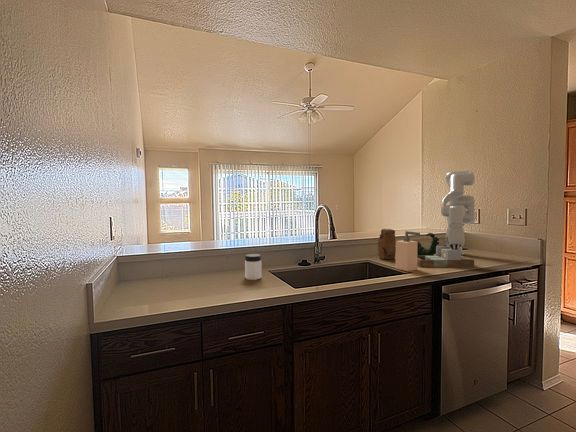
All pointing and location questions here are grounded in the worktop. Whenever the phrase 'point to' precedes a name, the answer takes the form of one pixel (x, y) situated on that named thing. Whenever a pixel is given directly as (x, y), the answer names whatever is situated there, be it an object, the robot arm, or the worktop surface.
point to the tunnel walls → (449, 253)
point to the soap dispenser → (406, 253)
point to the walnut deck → (443, 262)
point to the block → (387, 244)
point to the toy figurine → (432, 250)
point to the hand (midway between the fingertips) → (454, 255)
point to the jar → (253, 266)
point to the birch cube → (444, 253)
